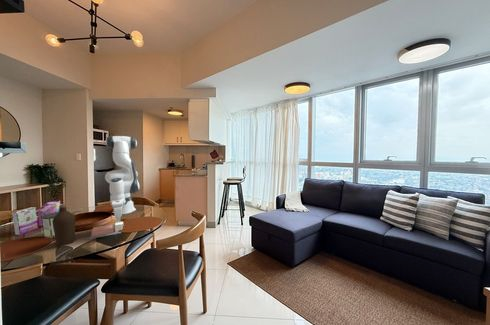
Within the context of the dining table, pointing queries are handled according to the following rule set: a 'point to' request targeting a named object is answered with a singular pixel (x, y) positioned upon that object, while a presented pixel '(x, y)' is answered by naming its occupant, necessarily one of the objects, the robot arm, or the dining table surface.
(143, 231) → the dining table surface
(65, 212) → the olive oil
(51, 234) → the tissue box
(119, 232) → the mat
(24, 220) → the candy bar box
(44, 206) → the gum box
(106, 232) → the pink block
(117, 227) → the stub
